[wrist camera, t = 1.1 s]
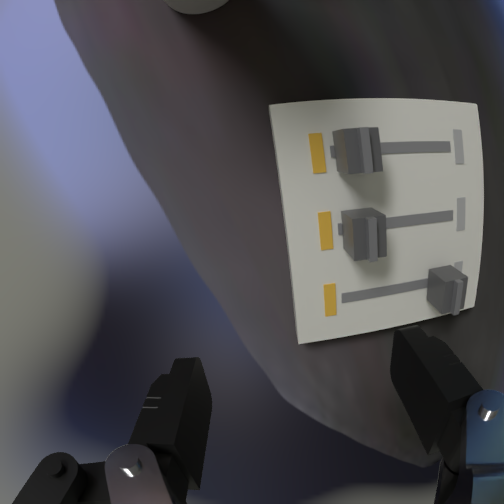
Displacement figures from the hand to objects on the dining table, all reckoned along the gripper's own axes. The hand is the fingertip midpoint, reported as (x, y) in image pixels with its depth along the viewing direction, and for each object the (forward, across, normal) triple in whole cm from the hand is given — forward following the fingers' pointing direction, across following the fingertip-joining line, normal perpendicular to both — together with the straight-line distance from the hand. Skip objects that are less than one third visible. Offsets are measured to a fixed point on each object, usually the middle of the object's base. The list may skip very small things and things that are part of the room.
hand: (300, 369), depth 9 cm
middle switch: (+15, -6, 0) cm, 17 cm away
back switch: (+15, -14, +6) cm, 22 cm away
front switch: (+15, -6, -6) cm, 18 cm away
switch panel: (+18, -10, 0) cm, 21 cm away
